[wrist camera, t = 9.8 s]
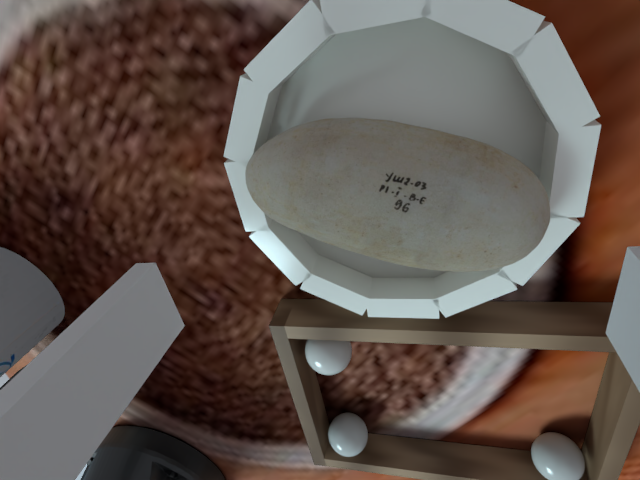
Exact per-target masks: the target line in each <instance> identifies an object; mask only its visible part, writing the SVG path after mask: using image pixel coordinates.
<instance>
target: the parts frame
mask: <svg viewBox="0 0 640 480" xmlns="http://www.w3.org/2000/svg"><path fill="white" fill-rule="evenodd" d="M612 305H613V303H612V302H522V301H487V302H484V303H482V304H479V305H477V306H474V307H472V308H469V309H466V310H464V311H461V312H459V313H456V314H454V315H451V316H449V317H446V318H445V316H444V315H443V314H442V313H441V312H440V310H439V319H430V318H388V317H368V313H367V309H366V311H365V312H364V314H363V315H359V314H357V313H355V312H352V311H350V310H348V309H345V308H343V307H341V306H339V305H336V304H334V303H332V302H329V301H327V300H325V299H281V301H280V303H279V305H278V307H277V309H276V312H275V314H274V316H273V318H272V320H271V322H270V324H269V328H270V331H271V334H272V337H273V340H274V343H275V346H276V349H277V352H278V355H279V358H280V361H281V364H282V367H283V371H284V374H285V377H286V380H287V383H288V386H289V389H290V392H291V395H292V398H293V401H294V404H295V407H296V410H297V413H298V416H299V419H300V422H301V425H302V428H303V431H304V434H305V437H306V440H307V444H308V447H309V450H310V453H311V456H312V459H313V462H314V464H315V465H322V466H329V467H336V468H343V469H351V470H358V471H365V472H372V473H379V474H387V475H394V476H401V477H408V478H415V479H423V480H548V479H546V478H545V477H544V476H543V475H542V474H541V473H540V472H539V471H538V470H537V468H536V467H535V465H534V463H533V460H532V456H531V451H525V450H516V449H507V448H498V447H489V446H480V445H471V444H462V443H453V442H444V441H434V440H425V439H416V438H407V437H398V436H389V435H380V434H371V433H368V440H367V444H366V446H365V448H364V449H363V451H362V452H360V453H359V454H358V455H356V456H353V457H345V456H342V455H340V454H338V453H337V452H336V451H335V450H334V449H333V448H332V446H331V444H330V442H329V437H328V431H329V427H330V424H329V421H328V417H327V413H326V410H325V406H324V402H323V398H322V395H321V391H320V387H319V383H318V380H317V376H316V372H315V370H313V369H312V368H311V366H310V365H309V364H308V362H307V359H306V355H305V346H306V343H307V339H312V340H336V341H359V342H383V343H407V344H430V345H454V346H477V347H501V348H525V349H548V350H572V351H595V352H609V355H608V359H607V362H606V366H605V370H604V373H603V377H602V380H601V384H600V387H599V391H598V394H597V398H596V401H595V405H594V408H593V412H592V415H591V419H590V422H589V426H588V429H587V433H586V436H585V440H584V443H583V447H582V451H581V452H582V454H583V457H584V461H585V470H584V473H583V475H582V477H581V478H580V479H579V480H618V478H619V475H620V473H621V470H622V468H623V465H624V462H625V460H626V457H627V455H628V452H629V450H630V447H631V445H632V442H633V439H634V437H635V434H636V432H637V429H638V427H639V424H640V392H639V390H638V388H637V387H636V385H635V383H634V381H633V380H632V378H631V376H630V375H629V373H628V371H627V369H626V368H625V366H624V364H623V362H622V361H621V359H620V357H619V356H618V354H617V352H616V350H615V349H614V347H613V345H612V343H611V342H610V340H609V338H608V336H607V335H606V329H607V325H608V321H609V317H610V313H611V309H612Z"/></svg>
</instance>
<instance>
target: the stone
mask: <svg viewBox="0 0 640 480" xmlns="http://www.w3.org/2000/svg"><path fill="white" fill-rule="evenodd" d="M245 177H246V185H247V188H248V191H249V193H250V195H251V197H252V199H253V201H254V202H255V203H256V204H257V206H258V207H259V208H260V209H261V210H262V211H263V212H264V213H265V214H266V215H267V216H269V217H270V218H272V219H273V220H275V221H276V222H278V223H280V224H282V225H283V226H285V227H288V228H290V229H293V230H295V231H298V232H301V233H303V234H305V235H308V236H310V237H312V238H315V239H317V240H319V241H322V242H325V243H328V244H330V245H333V246H336V247H339V248H342V249H345V250H348V251H352V252H355V253H359V254H362V255H366V256H369V257H372V258H376V259H379V260H383V261H386V262H390V263H394V264H399V265H403V266H408V267H414V268H421V269H429V270H437V271H453V272H470V271H484V270H492V269H497V268H501V267H504V266H508V265H511V264H513V263H515V262H517V261H519V260H521V259H523V258H524V257H526V256H527V255H528V254H530V253H531V252H532V251H533V250H534V249H535V248H536V247H537V246H538V245H539V243H540V242H541V240H542V239H543V237H544V235H545V233H546V230H547V228H548V225H549V223H550V204H549V199H548V195H547V192H546V190H545V188H544V186H543V184H542V183H541V181H540V180H539V179H538V177H537V176H536V175H535V174H534V173H533V171H532V170H531V169H530V168H528V167H527V166H526V165H525V164H523V163H522V162H521V161H519V160H518V159H516V158H514V157H512V156H511V155H509V154H507V153H505V152H503V151H501V150H499V149H497V148H495V147H493V146H490V145H488V144H486V143H483V142H479V141H476V140H473V139H470V138H467V137H462V136H458V135H454V134H450V133H446V132H442V131H438V130H434V129H429V128H424V127H419V126H414V125H409V124H404V123H400V122H395V121H389V120H377V119H365V118H330V119H321V120H316V121H312V122H308V123H304V124H301V125H298V126H295V127H292V128H290V129H288V130H286V131H284V132H282V133H281V134H279V135H277V136H275V137H274V138H272V139H270V140H269V141H267V142H266V143H264V144H263V145H262V146H261V147H260V148H259V149H258V150H257V151H256V152H255V153H254V154H253V155H252V157H251V158H250V160H249V162H248V163H247V166H246V172H245Z"/></svg>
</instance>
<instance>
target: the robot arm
mask: <svg viewBox="0 0 640 480" xmlns="http://www.w3.org/2000/svg"><path fill="white" fill-rule="evenodd" d="M184 326H185V325H184V323H183V321H182V319H181V317H180V314H179V312H178V310H177V308H176V306H175V304H174V301H173V299H172V297H171V295H170V293H169V291H168V288H167V286H166V284H165V282H164V280H163V278H162V275H161V273H160V271H159V269H158V267H157V265H156V263H136V264H135V265H134V266H133V267H132V268H130V269H129V270H128V271H127V272H126V273H125V274H124V275H123V276H122V277H121V278H120V279H119V280H118V281H117V282H116V283H114V284H113V285H112V286H111V287H110V288H109V289H108V290H107V291H106V292H105V293H104V294H103V295H102V296H101V297H99V298H98V299H97V300H96V301H95V302H94V303H93V304H92V305H91V306H90V307H89V308H88V309H87V310H86V311H85V312H83V313H82V314H81V315H80V316H79V317H78V318H77V319H76V320H75V321H74V322H73V323H72V324H71V325H70V326H68V327H67V328H66V329H65V330H64V331H63V332H62V333H61V334H60V335H59V336H58V337H57V338H56V339H55V340H54V341H52V342H51V343H50V344H49V345H48V346H47V347H46V348H45V349H44V350H43V351H42V352H41V353H40V354H39V355H37V356H36V357H35V358H34V359H33V360H32V361H31V362H30V363H29V364H28V365H26V366H25V367H23V368H22V369H21V370H19V371H18V372H17V373H16V374H15V375H13V376H12V377H11V378H10V379H9V380H8V381H7V382H6V383H5V384H4V385H3V386H2V387H1V388H0V480H75V479H76V478H77V476H78V475H79V473H80V472H81V471H82V469H83V468H84V466H85V465H86V464H87V468H86V470H85V472H84V474H83V476H82V478H81V480H225V478H224V476H223V474H222V473H221V472H220V470H219V469H218V468H217V467H216V466H215V465H214V464H213V463H212V462H211V461H210V460H209V459H208V458H206V457H205V456H204V455H203V454H201V453H200V452H198V451H197V450H196V449H194V448H192V447H191V446H189V445H187V444H186V443H184V442H182V441H180V440H178V439H176V438H173V437H171V436H169V435H166V434H164V433H161V432H158V431H155V430H151V429H147V428H142V427H136V426H118V427H114V428H112V427H113V426H114V424H115V423H116V421H117V420H118V419H119V417H120V416H121V414H122V413H123V412H124V410H125V409H126V407H127V406H128V405H129V403H130V402H131V400H132V399H133V398H134V396H135V395H136V393H137V392H138V391H139V389H140V388H141V386H142V385H143V384H144V382H145V381H146V379H147V378H148V377H149V375H150V374H151V372H152V371H153V369H154V368H155V367H156V365H157V364H158V362H159V361H160V360H161V358H162V357H163V355H164V354H165V353H166V351H167V350H168V348H169V347H170V346H171V344H172V343H173V341H174V340H175V339H176V337H177V336H178V334H179V333H180V332H181V330H182V329H183V327H184ZM606 335H607V336H608V338H609V340H610V342H611V343H612V345H613V347H614V349H615V350H616V352H617V354H618V356H619V357H620V359H621V361H622V362H623V364H624V366H625V368H626V369H627V371H628V373H629V375H630V376H631V378H632V380H633V381H634V383H635V385H636V387H637V388H638V390H639V392H640V246H636V247H627V251H626V255H625V259H624V262H623V266H622V270H621V274H620V278H619V282H618V286H617V290H616V294H615V298H614V301H613V305H612V309H611V313H610V317H609V321H608V325H607V329H606Z"/></svg>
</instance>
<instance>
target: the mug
mask: <svg viewBox="0 0 640 480" xmlns="http://www.w3.org/2000/svg"><path fill="white" fill-rule="evenodd" d="M64 315H65V307H64V304H63V300H62V298H61V296H60V294H59V292H58V291H57V289H56V288H55V286H54V285H53V283H52V282H51V281H50V280H49V279H48V278H47V276H46V275H45V274H44V273H42V272H41V271H40V270H39V269H38V268H37V267H36V266H34V265H33V264H32V263H30V262H29V261H28V260H26V259H25V258H23V257H21V256H20V255H18V254H16V253H14V252H12V251H10V250H8V249H5V248H2V247H0V377H1V376H2V375H3V374H4V373H6V372H7V371H8V370H9V369H10V368H11V367H12V366H13V365H14V364H16V363H17V362H18V361H19V360H20V359H21V358H22V357H23V356H24V355H25V354H27V353H28V352H29V351H30V350H31V349H32V348H33V347H34V346H35V345H37V344H38V343H39V342H40V341H41V340H42V339H43V338H44V337H45V336H46V335H48V334H49V333H50V332H51V331H52V330H53V329H54V328H55V327H56V326H58V325H59V324H60V323H61V321H62V320H63V318H64Z"/></svg>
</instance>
